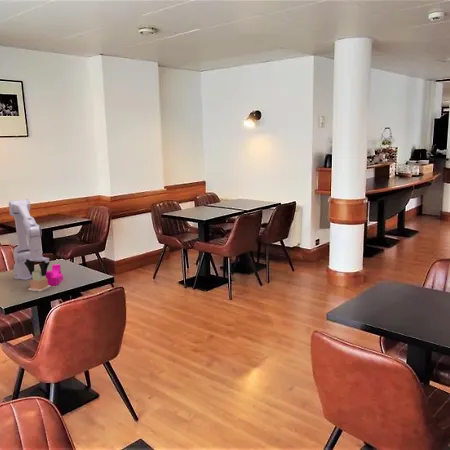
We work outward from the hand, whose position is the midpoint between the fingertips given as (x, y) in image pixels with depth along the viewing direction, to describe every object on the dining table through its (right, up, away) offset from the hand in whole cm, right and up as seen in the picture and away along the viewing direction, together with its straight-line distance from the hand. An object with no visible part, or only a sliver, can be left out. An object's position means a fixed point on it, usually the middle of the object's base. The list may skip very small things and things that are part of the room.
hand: (38, 274), depth 236 cm
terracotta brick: (0, -6, +1) cm, 7 cm away
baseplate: (0, -7, +1) cm, 7 cm away
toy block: (+4, -5, +13) cm, 14 cm away
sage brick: (0, -2, +1) cm, 3 cm away
